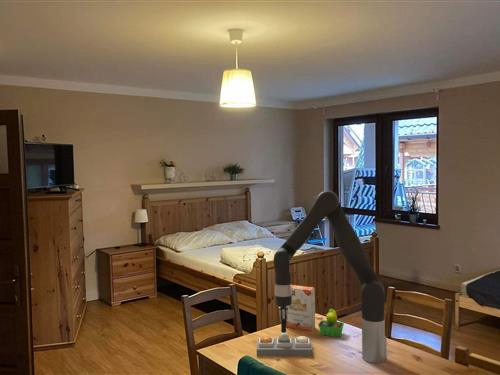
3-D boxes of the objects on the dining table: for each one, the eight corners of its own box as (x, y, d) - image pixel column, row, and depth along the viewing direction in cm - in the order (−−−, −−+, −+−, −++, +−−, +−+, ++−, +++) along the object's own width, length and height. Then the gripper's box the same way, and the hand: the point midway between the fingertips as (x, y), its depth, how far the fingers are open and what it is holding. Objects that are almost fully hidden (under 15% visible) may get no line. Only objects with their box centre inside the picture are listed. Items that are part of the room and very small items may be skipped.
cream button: (306, 340, 198) (306, 336, 198) (307, 344, 194) (307, 340, 194) (297, 340, 199) (296, 336, 198) (297, 344, 194) (297, 340, 194)
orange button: (271, 340, 199) (271, 336, 199) (271, 344, 195) (270, 339, 195) (261, 340, 200) (261, 336, 199) (261, 344, 195) (260, 339, 195)
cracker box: (285, 327, 225) (284, 287, 224) (289, 323, 230) (289, 284, 229) (311, 331, 218) (310, 290, 217) (315, 327, 223) (315, 287, 222)
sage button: (288, 337, 199) (288, 332, 199) (289, 340, 194) (289, 336, 194) (279, 337, 199) (279, 332, 199) (279, 340, 195) (279, 336, 195)
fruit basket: (317, 335, 213) (317, 312, 213) (322, 329, 222) (321, 306, 221) (341, 338, 209) (341, 315, 208) (345, 332, 217) (344, 309, 217)
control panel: (310, 345, 202) (310, 335, 202) (312, 356, 190) (312, 346, 190) (257, 344, 204) (257, 335, 203) (256, 356, 192) (256, 345, 191)
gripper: (292, 298, 189) (292, 337, 190) (291, 289, 202) (291, 326, 203) (274, 298, 189) (275, 337, 190) (274, 289, 203) (275, 326, 203)
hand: (283, 331), depth 197 cm, fingers closed
